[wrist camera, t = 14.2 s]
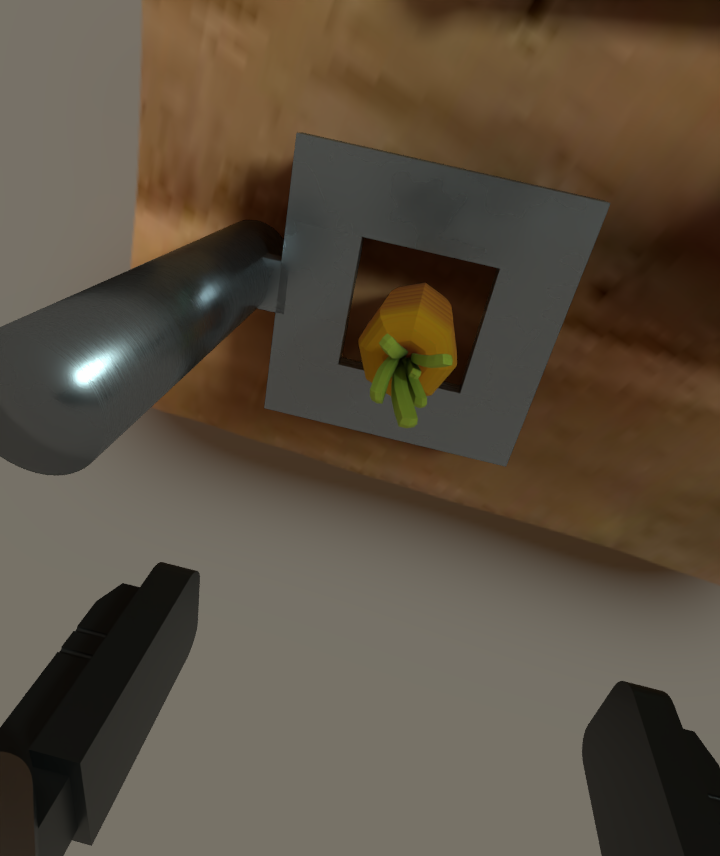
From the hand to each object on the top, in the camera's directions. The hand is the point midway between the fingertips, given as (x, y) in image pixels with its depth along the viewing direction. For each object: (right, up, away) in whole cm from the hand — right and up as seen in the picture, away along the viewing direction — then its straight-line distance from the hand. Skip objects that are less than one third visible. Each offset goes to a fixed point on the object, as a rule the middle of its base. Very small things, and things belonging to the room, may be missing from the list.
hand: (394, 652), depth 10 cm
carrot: (+3, +13, +25) cm, 28 cm away
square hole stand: (0, +13, +25) cm, 28 cm away
